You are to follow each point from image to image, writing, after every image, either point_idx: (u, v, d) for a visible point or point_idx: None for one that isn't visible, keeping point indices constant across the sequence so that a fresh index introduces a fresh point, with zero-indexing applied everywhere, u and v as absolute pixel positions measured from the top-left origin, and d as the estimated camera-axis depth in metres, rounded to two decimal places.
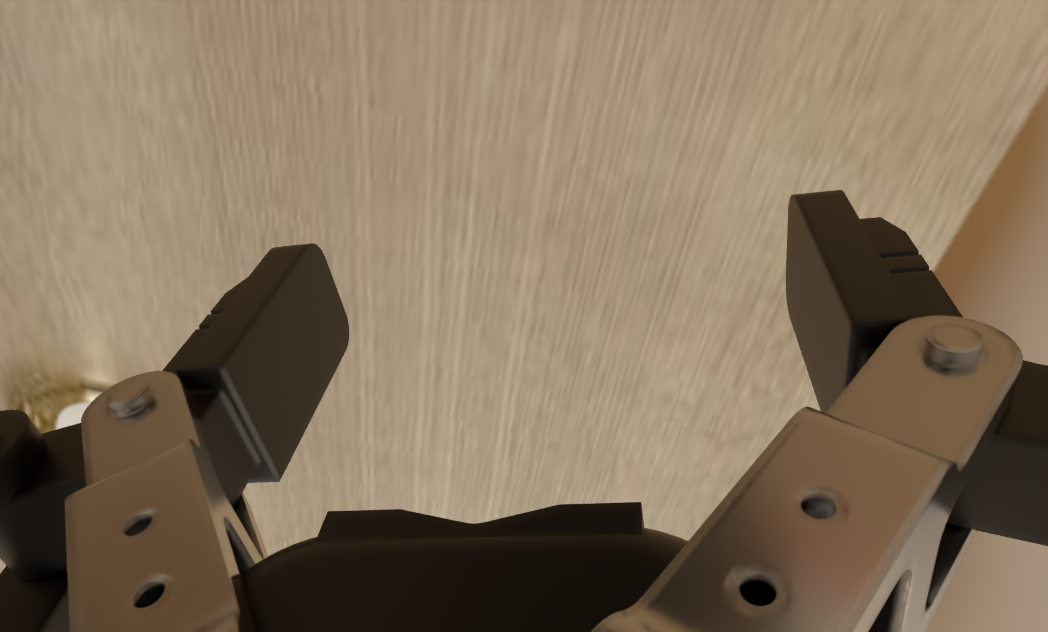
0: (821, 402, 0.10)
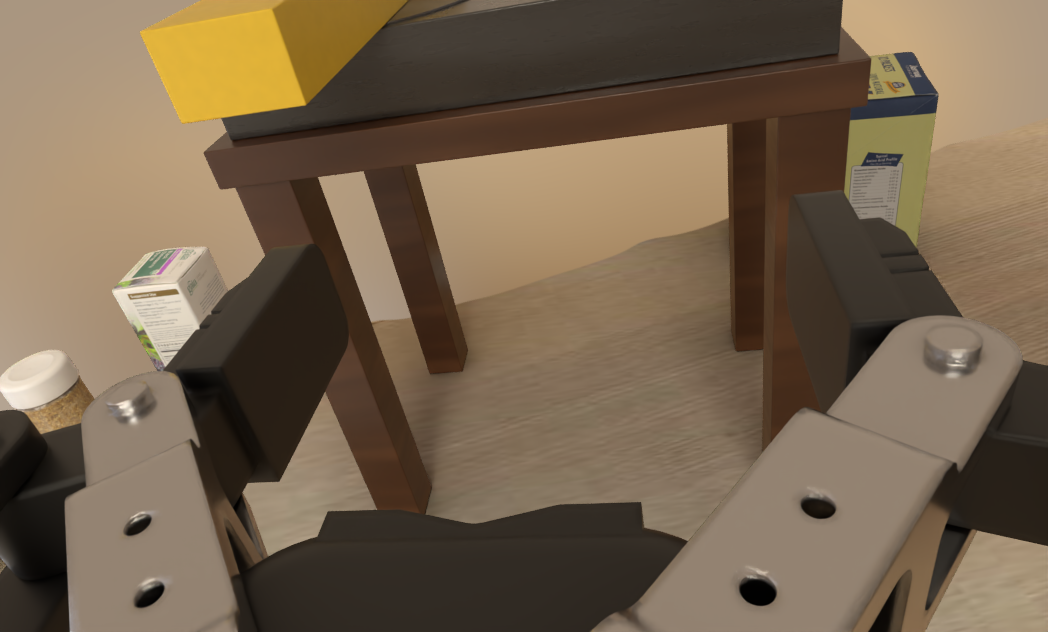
0: (821, 402, 0.10)
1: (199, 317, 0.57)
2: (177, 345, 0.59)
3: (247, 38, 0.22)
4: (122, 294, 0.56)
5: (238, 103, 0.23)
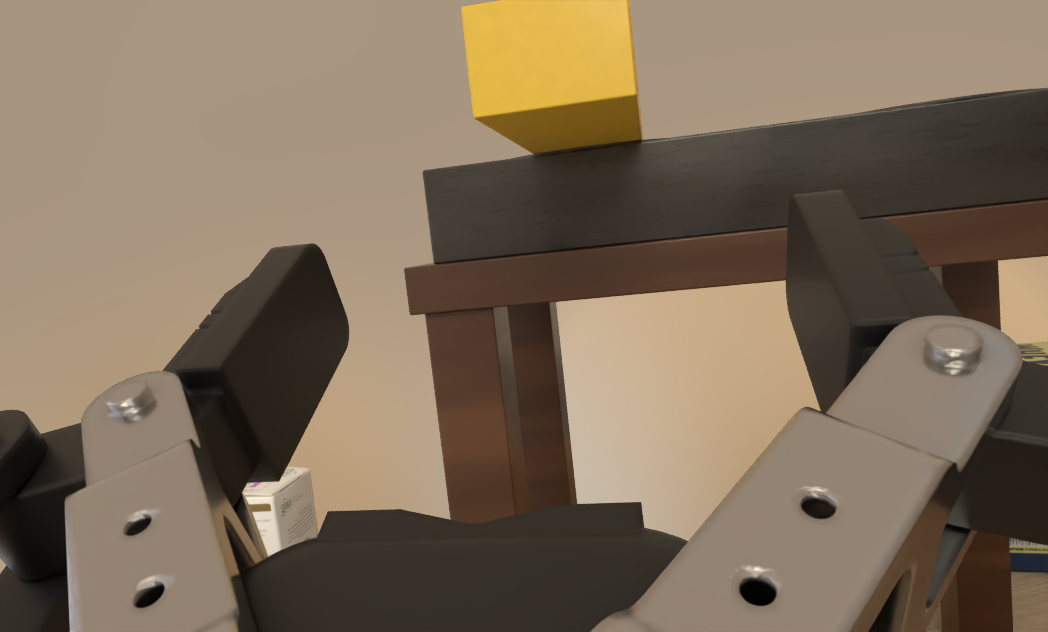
0: (821, 402, 0.10)
1: (284, 546, 0.47)
2: None
3: (586, 12, 0.19)
4: None
5: (552, 91, 0.20)
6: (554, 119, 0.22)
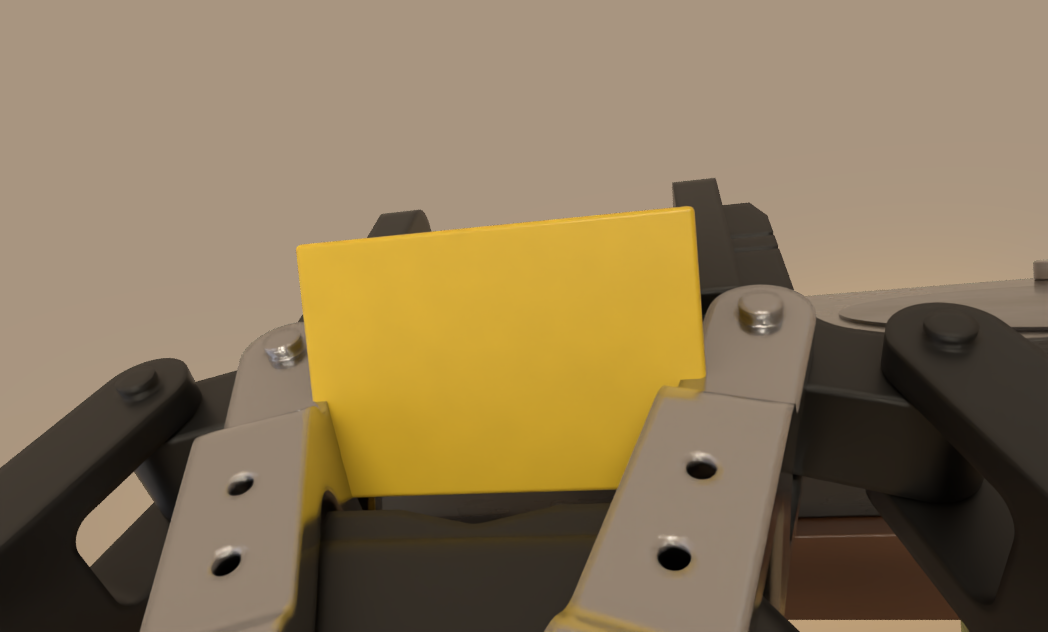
0: None
1: None
2: None
3: (594, 281, 0.08)
4: None
5: (506, 459, 0.08)
6: None
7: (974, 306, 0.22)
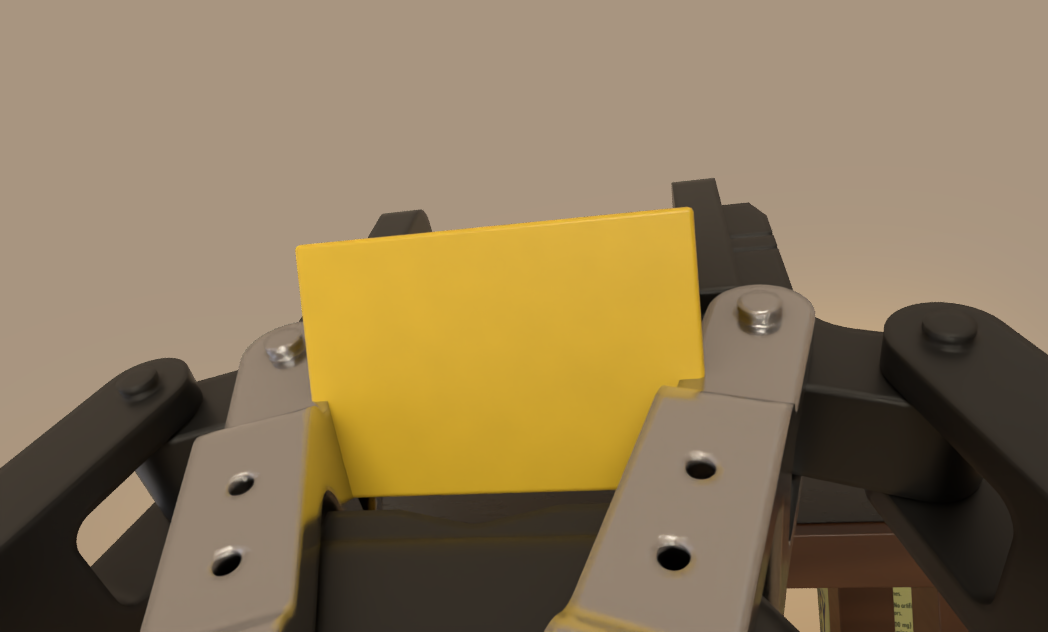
0: None
1: None
2: None
3: (592, 281, 0.08)
4: None
5: (505, 459, 0.08)
6: None
7: None
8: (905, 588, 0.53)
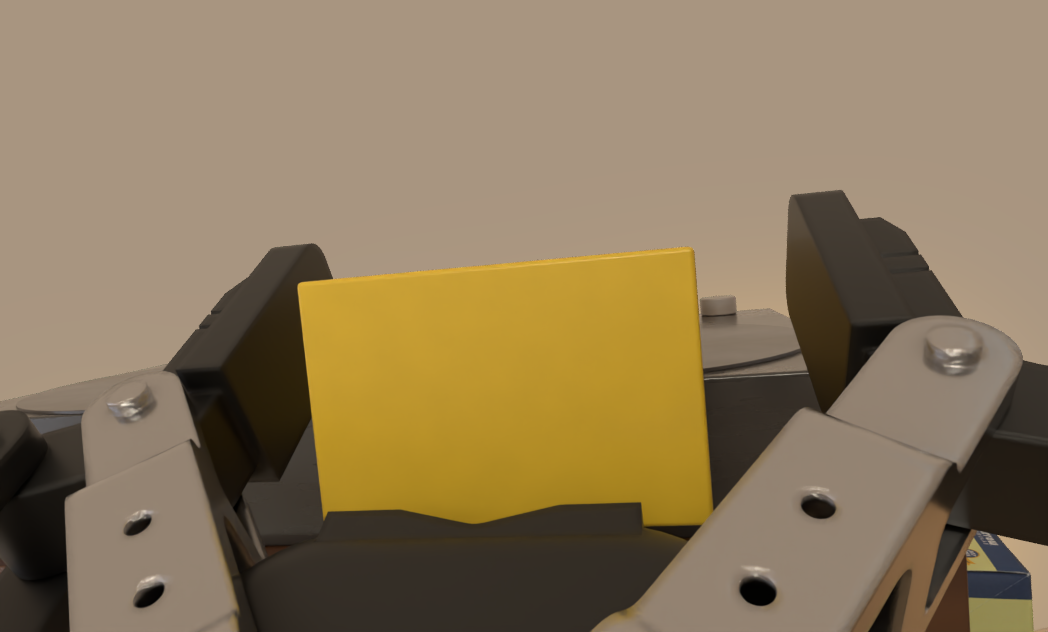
0: (821, 402, 0.10)
1: None
2: None
3: (593, 320, 0.08)
4: None
5: (507, 496, 0.08)
6: None
7: None
8: None
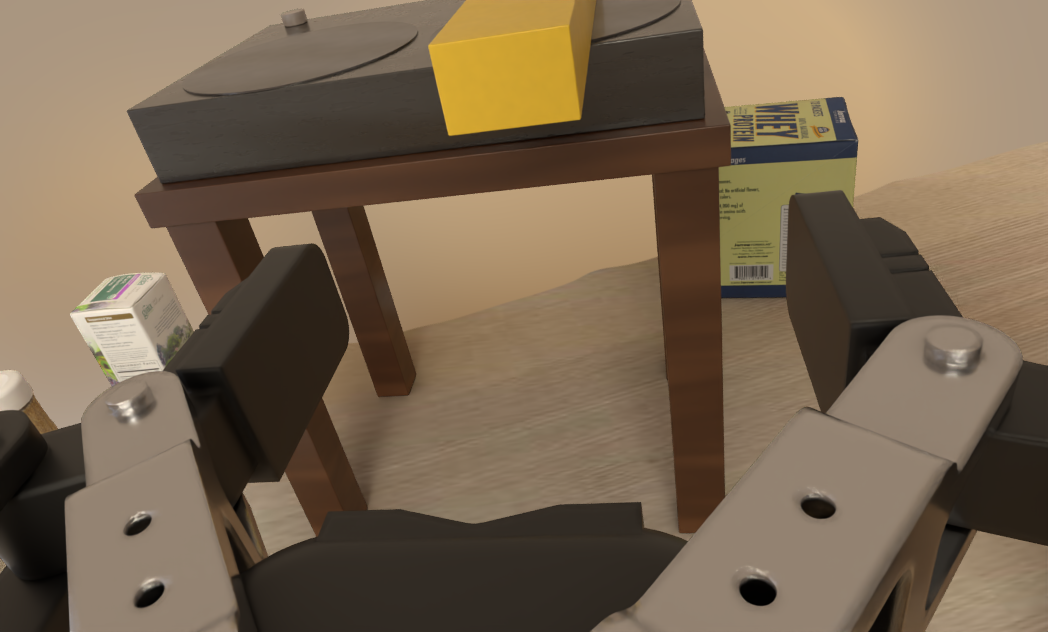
0: (821, 402, 0.10)
1: (154, 340, 0.60)
2: (133, 366, 0.61)
3: (537, 52, 0.23)
4: (80, 317, 0.59)
5: (512, 116, 0.24)
6: None
7: None
8: (734, 176, 0.63)
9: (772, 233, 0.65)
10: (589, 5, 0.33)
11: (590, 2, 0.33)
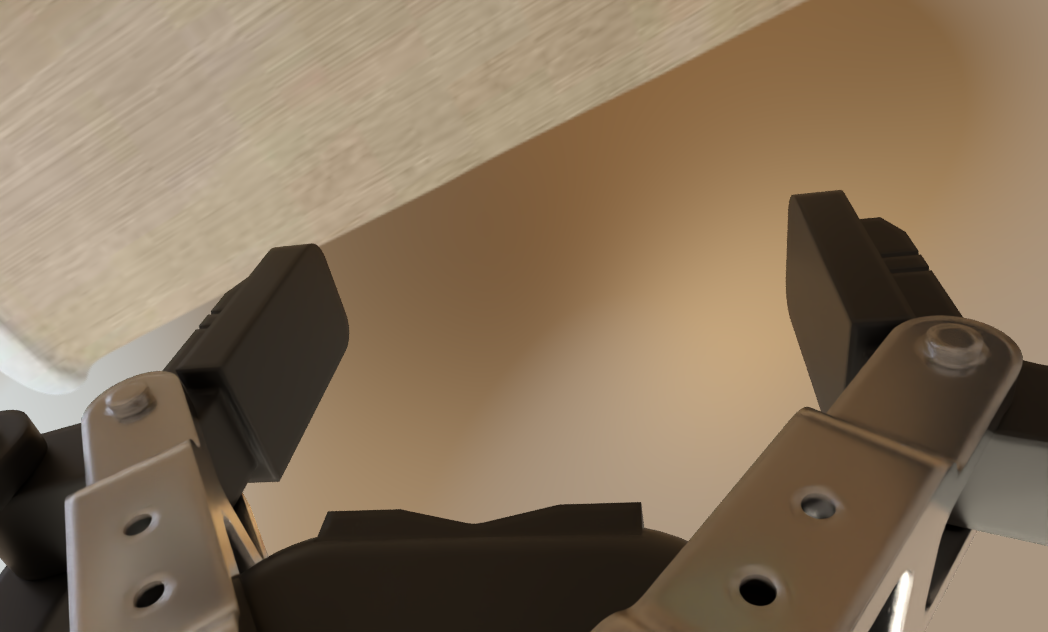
0: (821, 402, 0.10)
1: None
2: None
3: None
4: None
5: None
6: None
7: None
8: None
9: None
10: None
11: None
